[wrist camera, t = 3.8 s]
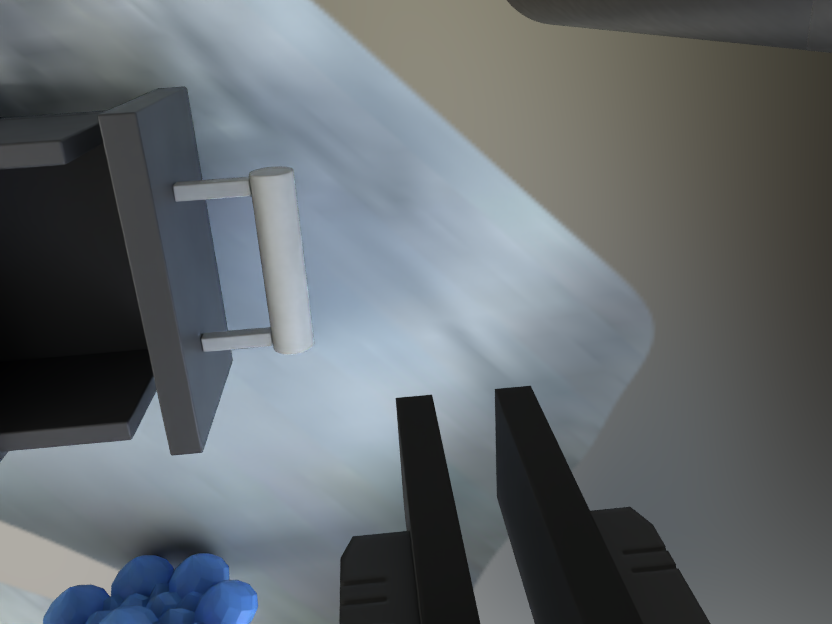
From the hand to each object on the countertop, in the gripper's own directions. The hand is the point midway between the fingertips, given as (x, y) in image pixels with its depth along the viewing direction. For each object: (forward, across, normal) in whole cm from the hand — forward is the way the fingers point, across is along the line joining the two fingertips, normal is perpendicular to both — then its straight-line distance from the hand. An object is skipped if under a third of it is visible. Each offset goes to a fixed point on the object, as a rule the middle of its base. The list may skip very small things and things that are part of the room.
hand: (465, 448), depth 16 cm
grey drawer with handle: (+19, -14, 0) cm, 23 cm away
